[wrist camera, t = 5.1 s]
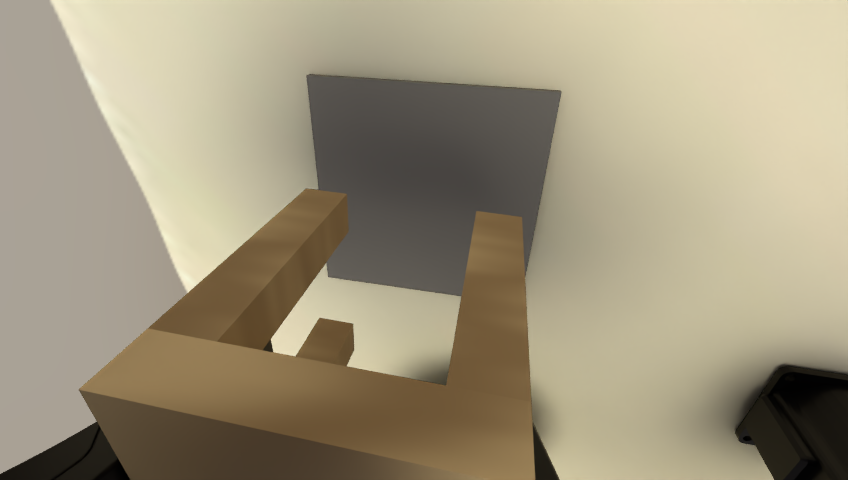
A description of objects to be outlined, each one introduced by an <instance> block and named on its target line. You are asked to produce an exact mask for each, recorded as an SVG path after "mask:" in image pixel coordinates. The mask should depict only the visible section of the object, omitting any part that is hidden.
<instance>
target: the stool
mask: <svg viewBox="0 0 848 480" xmlns="http://www.w3.org/2000/svg"><path fill="white" fill-rule="evenodd" d="M348 232H349V226H348V204H347V194H344V193H337V192H329V191H321V190H314V189H305V190H304V191H303V192H302V193H301V194H300V195H298V196H297V197H296V198H295V199H294V200H293V201H292V202H290V203H289V204H288V205H287V206H286V207H285V208H284V209H283V210H281V211H280V212H279V213H278V214H277V215H276V216H275V217H273V218H272V219H271V220H270V221H269V222H268V223H267V224H266V225H264V226H263V227H262V228H261V229H260V230H259V231H258V232H256V233H255V234H254V235H253V236H252V237H251V238H250V239H249V240H247V241H246V242H245V243H244V244H243V245H242V246H241V247H240V248H238V249H237V250H236V251H235V252H234V253H233V254H232V255H230V256H229V257H228V258H227V259H226V260H225V261H224V262H223V263H221V264H220V265H219V266H218V267H217V268H216V269H215V270H213V271H212V272H211V273H210V274H209V275H208V276H207V277H206V278H204V279H203V280H202V281H201V282H200V283H199V284H198V285H196V286H195V287H194V288H193V289H192V290H191V291H190V292H189V293H187V294H186V295H185V296H184V297H183V298H182V299H181V300H179V301H178V302H177V303H176V304H175V305H174V306H173V307H172V308H170V309H169V310H168V311H167V312H166V313H165V314H164V315H162V316H161V317H160V318H159V319H158V320H157V321H156V322H155V323H153V324H152V325H151V326H150V327H149V328H148V329H147V330H146V331H144V332H143V333H142V334H141V335H140V336H139V337H138V338H136V339H135V340H134V341H133V342H132V343H131V344H130V345H128V347H126V348H125V349H124V350H123V351H122V352H121V353H119V354H118V355H117V356H116V357H115V358H114V359H113V360H112V361H110V362H109V363H108V364H107V365H106V366H105V367H104V368H102V369H101V370H100V371H99V372H98V373H97V374H96V375H95V376H93V377H92V378H91V379H90V380H89V381H88V382H87V383H85V384H84V385H83V386H82V387H81V388H80V389H79V391H80V393H81V394H82V396H83V398H84V400H85V401H86V403H87V405H88V407H89V408H90V410H91V412H92V414H93V415H94V417H95V419H96V421H97V422H98V424H99V426H100V428H101V429H102V431H103V433H104V435H105V436H106V438H107V440H108V442H109V443H110V445H111V447H112V449H113V450H114V452H115V454H116V456H117V457H118V459H119V461H120V463H121V464H122V466H123V468H124V470H125V471H126V473H127V475H128V477H129V478H130V480H535V465H534V445H533V425H532V406H531V386H530V366H529V346H528V326H527V306H526V286H525V266H524V247H523V227H522V217H518V216H511V215H503V214H496V213H488V212H480V211H476V216H475V221H474V227H473V233H472V239H471V245H470V250H469V256H468V262H467V268H466V274H465V279H464V285H463V291H462V297H461V303H460V308H459V314H458V320H457V326H456V332H455V337H454V343H453V349H452V355H451V360H450V366H449V372H448V378H447V384H446V385H441V384H435V383H430V382H425V381H420V380H415V379H409V378H404V377H399V376H394V375H388V374H383V373H378V372H373V371H368V370H362V369H357V368H352V367H347V364H348V362H349V360H350V357H351V355H352V353H353V351H354V334H353V324H351V323H346V322H340V321H334V320H329V319H323V318H319V320H318V321H317V323H316V324H315V326H314V328H313V329H312V331H311V332H310V334H309V336H308V337H307V339H306V341H305V342H304V344H303V345H302V347H301V349H300V350H299V352H298V353H297V355H296V357H294V356H289V355H284V354H279V353H274V352H268V351H263V349H264V347H265V346H266V345H267V343H268V342H269V341H270V339H271V338H272V336H273V335H274V334H275V332H276V331H277V330H278V328H279V327H280V325H281V324H282V323H283V321H284V320H285V319H286V317H287V316H288V314H289V313H290V312H291V310H292V309H293V307H294V306H295V305H296V303H297V302H298V301H299V299H300V298H301V296H302V295H303V294H304V292H305V291H306V290H307V288H308V287H309V285H310V284H311V283H312V281H313V280H314V279H315V277H316V276H317V274H318V273H319V272H320V270H321V269H322V268H323V266H324V265H325V263H326V262H327V261H328V259H329V258H330V257H331V255H332V254H333V252H334V251H335V250H336V248H337V247H338V246H339V244H340V243H341V241H342V240H343V239H344V237H345V236H346V235H347V233H348Z"/></svg>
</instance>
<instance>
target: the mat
mask: <svg viewBox="0 0 848 480" xmlns="http://www.w3.org/2000/svg"><path fill="white" fill-rule="evenodd" d="M307 84H308V94H309V103H310V112H311V121H312V131H313V140H314V149H315V158H316V168H317V177H318V186H319V190H321V191H329V192H337V193H344V194H347V204H348V226H349V232H348V233H347V235H346V236H345V237H344V239H343V240H342V241H341V243H340V244H339V246H338V247H337V248H336V250H335V251H334V252H333V254H332V255H331V257H330V258H329V259H328V261H327V270H328V277H332V278H339V279H346V280H352V281H359V282H366V283H373V284H380V285H387V286H394V287H401V288H408V289H415V290H422V291H429V292H436V293H443V294H450V295H456V296H462V291H463V285H464V279H465V274H466V268H467V262H468V256H469V250H470V245H471V239H472V233H473V227H474V221H475V216H476V211H480V212H488V213H496V214H503V215H511V216H518V217H522V227H523V247H524V266H525V276H526V271H527V266H528V261H529V256H530V250H531V245H532V240H533V235H534V230H535V225H536V220H537V215H538V209H539V204H540V199H541V194H542V189H543V184H544V179H545V173H546V168H547V163H548V158H549V153H550V148H551V143H552V138H553V132H554V127H555V122H556V117H557V112H558V107H559V102H560V97H561V91H558V90H543V89H527V88H512V87H497V86H482V85H466V84H451V83H436V82H421V81H406V80H390V79H375V78H360V77H345V76H329V75H314V74H309V75H307Z"/></svg>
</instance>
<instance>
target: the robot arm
mask: <svg viewBox="0 0 848 480" xmlns="http://www.w3.org/2000/svg"><path fill="white" fill-rule="evenodd" d="M263 351H268V352H273V349H272V343H271V339H270V341H269V342H268V343H267V345H266V346H265V347H264V349H263ZM532 425H533V445H534V465H535V480H560V479H559V477H558V475H557V473H556V471H555V469H554V466H553V464H552V462H551V460H550V458H549V456H548V454H547V451H546V449H545V447H544V445H543V443H542V441H541V439H540V436H539V434H538V432H537V430H536V428H535V426H534V423H533V421H532ZM735 434H736V436H737V438H738V440H739V441H740V442H742V443H745V444H751V445H755V446H756V447H757V449H758V451H759V453H760V455H761V456H762V458H763V460H764V462H765V464H766V465H767V467H768V469H769V471H770V473H771V474H772V476H773V478H774V480H848V375H843V374H837V373H830V372H824V371H817V370H811V369H804V368H797V367H790V366H786V367H782V368H780V369H778V370H777V371H776V373H775V374H774V376H773V377H772V379H771V380H770V382H769V383H768V385H767V386H766V388H765V389H764V391H763V392H762V394H761V395H760V396H759V398H758V399H757V401H756V402H755V404H754V405H753V407H752V408H751V410H750V411H749V413H748V414H747V416H746V417H745V419H744V420H743V421H742V423H741V424H740V426H739V427H738V429H737V430H736V432H735ZM0 480H130V478H129V477H128V475H127V473H126V471H125V470H124V468H123V466H122V464H121V463H120V461H119V459H118V457H117V456H116V454H115V452H114V450H113V449H112V447H111V445H110V443H109V442H108V440H107V438H106V436H105V435H104V433H103V431H102V429H101V428H100V426H99V424H98V422H95V423H94V424H92V425H90V426H88V427H87V428H85V429H83V430H82V431H80V432H78V433H76V434H75V435H73V436H71V437H69V438H67V439H66V440H64V441H62V442H60V443H59V444H57V445H55V446H53V447H51V448H49V449H47V450H46V451H44V452H42V453H40V454H38V455H36V456H34V457H32V458H31V459H28V460H27V461H25V462H23V463H21V464H19V465H17V466H15V467H13V468H11V469H9V470H7V471H5V472H3V473H1V474H0Z"/></svg>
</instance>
